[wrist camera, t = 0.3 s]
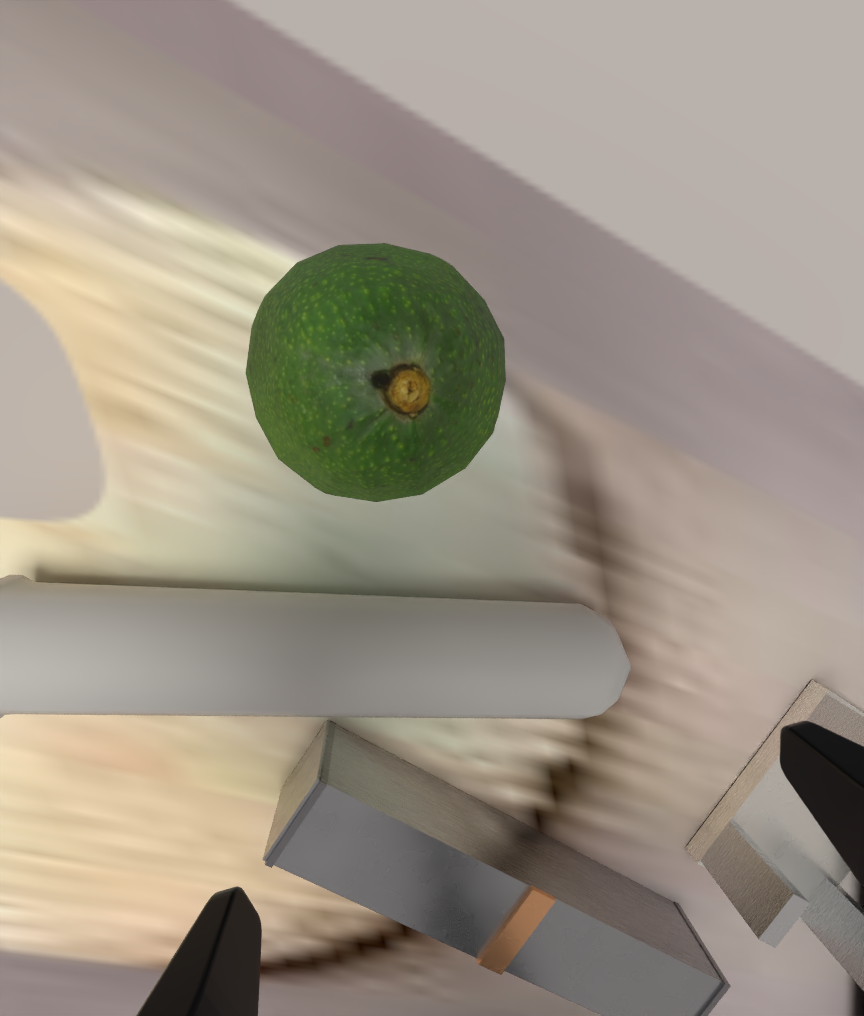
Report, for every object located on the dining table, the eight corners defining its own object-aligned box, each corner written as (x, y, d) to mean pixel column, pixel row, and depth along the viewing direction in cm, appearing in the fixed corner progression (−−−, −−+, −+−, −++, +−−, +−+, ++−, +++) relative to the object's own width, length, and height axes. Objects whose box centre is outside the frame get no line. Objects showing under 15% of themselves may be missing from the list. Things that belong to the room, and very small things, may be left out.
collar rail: (792, 906, 28) (887, 1017, 23) (685, 847, 26) (760, 950, 21) (915, 749, 27) (1043, 826, 22) (811, 679, 26) (922, 744, 20)
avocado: (320, 506, 22) (250, 601, 10) (254, 322, 20) (81, 178, 8) (494, 450, 22) (627, 478, 10) (443, 266, 21) (529, 54, 9)
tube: (651, 600, 20) (-48, 571, 17) (655, 743, 19) (-82, 741, 16) (591, 598, 25) (50, 576, 22) (592, 710, 24) (28, 704, 21)
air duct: (680, 904, 27) (734, 990, 23) (636, 962, 27) (681, 1056, 23) (327, 719, 23) (316, 782, 19) (281, 788, 24) (260, 865, 20)
